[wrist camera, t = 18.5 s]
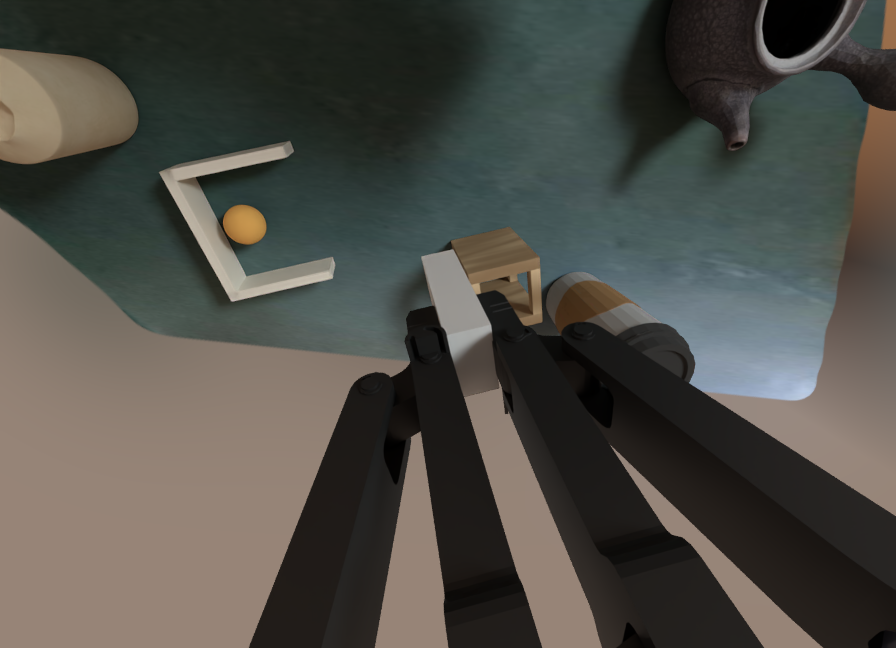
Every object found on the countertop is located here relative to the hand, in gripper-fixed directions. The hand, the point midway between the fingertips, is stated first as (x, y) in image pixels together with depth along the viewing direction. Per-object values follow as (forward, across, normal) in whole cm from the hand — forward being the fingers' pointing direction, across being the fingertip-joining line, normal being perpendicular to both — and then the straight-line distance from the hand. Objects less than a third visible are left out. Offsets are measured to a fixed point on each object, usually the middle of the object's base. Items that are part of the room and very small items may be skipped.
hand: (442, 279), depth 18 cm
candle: (+20, -21, +10) cm, 30 cm away
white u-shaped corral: (+19, -13, 0) cm, 23 cm away
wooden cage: (+19, +6, -9) cm, 22 cm away
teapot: (+20, +31, +5) cm, 37 cm away
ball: (+19, -16, 0) cm, 24 cm away
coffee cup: (+20, +15, -15) cm, 29 cm away
